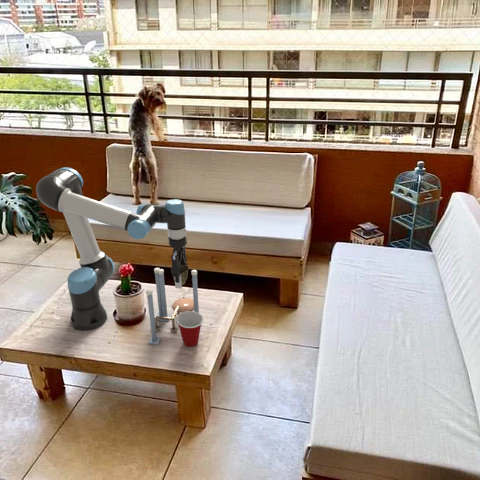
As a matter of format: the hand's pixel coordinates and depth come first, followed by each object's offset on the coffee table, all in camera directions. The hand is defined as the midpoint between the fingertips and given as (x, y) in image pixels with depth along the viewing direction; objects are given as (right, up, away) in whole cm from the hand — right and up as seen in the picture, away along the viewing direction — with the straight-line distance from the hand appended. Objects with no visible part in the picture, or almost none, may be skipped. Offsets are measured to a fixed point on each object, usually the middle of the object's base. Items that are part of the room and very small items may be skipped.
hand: (180, 283), depth 196 cm
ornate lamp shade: (0, 0, 0) cm, 0 cm away
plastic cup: (+6, -23, -15) cm, 28 cm away
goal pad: (0, -11, +9) cm, 15 cm away
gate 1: (-8, -19, -7) cm, 22 cm away
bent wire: (-5, -17, -3) cm, 18 cm away
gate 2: (-1, -15, 0) cm, 15 cm away
